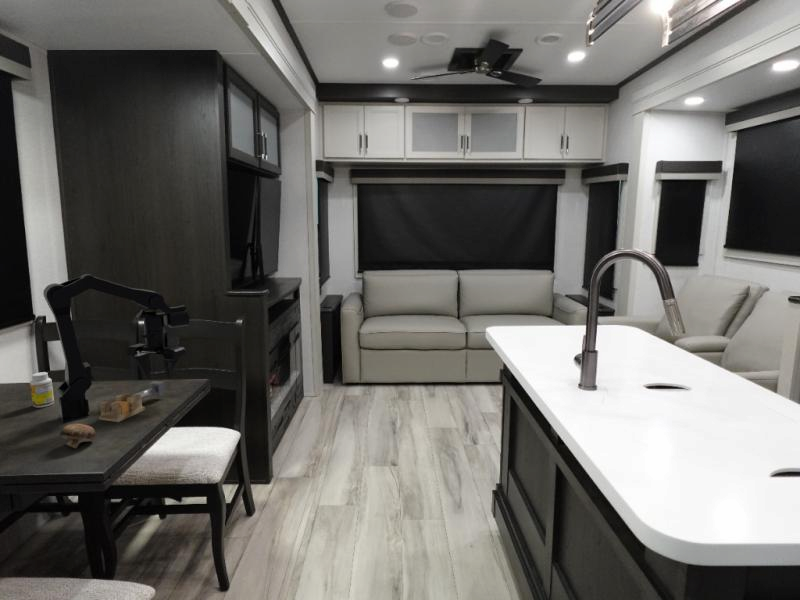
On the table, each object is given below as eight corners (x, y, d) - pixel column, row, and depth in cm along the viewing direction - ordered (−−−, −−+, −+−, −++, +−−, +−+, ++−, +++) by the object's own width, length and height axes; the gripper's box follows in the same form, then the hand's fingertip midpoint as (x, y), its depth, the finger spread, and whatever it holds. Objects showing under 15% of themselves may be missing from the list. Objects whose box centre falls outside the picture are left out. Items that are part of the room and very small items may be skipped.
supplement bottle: (35, 403, 160) (31, 372, 158) (56, 400, 162) (52, 370, 160) (30, 409, 155) (26, 377, 153) (51, 406, 157) (48, 375, 155)
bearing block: (118, 422, 145) (116, 405, 144) (99, 419, 147) (97, 403, 146) (145, 409, 154) (143, 394, 153) (126, 407, 156) (125, 391, 155)
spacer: (122, 414, 148) (121, 404, 147) (111, 412, 149) (110, 403, 149) (129, 411, 150) (128, 402, 150) (118, 409, 151) (117, 400, 151)
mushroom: (63, 444, 123) (71, 419, 126) (50, 448, 127) (58, 424, 130) (97, 449, 128) (103, 425, 131) (83, 453, 133) (90, 430, 136)
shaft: (137, 405, 153) (136, 393, 152) (127, 404, 154) (125, 392, 154) (165, 393, 164) (164, 381, 163) (155, 392, 165) (154, 380, 164)
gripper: (195, 326, 166) (199, 372, 168) (150, 323, 171) (153, 367, 174) (171, 333, 155) (175, 382, 158) (123, 330, 161) (127, 377, 163)
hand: (158, 376), depth 163 cm, fingers open, 9 cm apart
